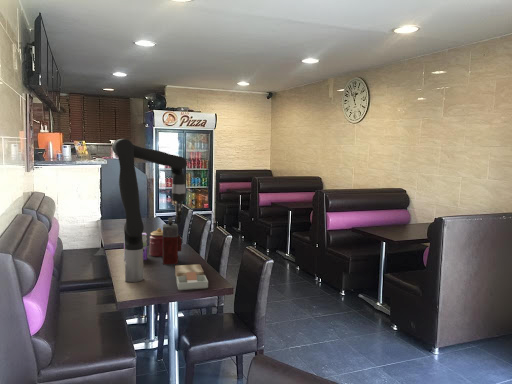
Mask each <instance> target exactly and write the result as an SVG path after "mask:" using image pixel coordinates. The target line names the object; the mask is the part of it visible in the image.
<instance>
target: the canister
mask: <svg viewBox="0 0 512 384" xmlns="http://www.w3.org/2000/svg"><path fill="white" fill-rule="evenodd" d="M148 251H149V256H152V257H163V229H162V228H161V227H158V228H157V230H153V231H152V232H150V235H149V250H148Z"/></svg>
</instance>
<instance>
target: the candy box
mask: <svg viewBox="0 0 512 384" xmlns="http://www.w3.org/2000/svg"><path fill="white" fill-rule="evenodd" d="M142 240H143V261H146V260H148V234H147V232H143V233H142ZM123 259H124V262H125V237H124V236H123Z"/></svg>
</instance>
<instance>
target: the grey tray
mask: <svg viewBox="0 0 512 384" xmlns="http://www.w3.org/2000/svg"><path fill="white" fill-rule="evenodd" d="M196 276H197V282H187V279H186V276H179V277H177V279H176V286H177V291H185V290H186V291H188V290H200V289H208V288H209V280H208V279H207V276H206V274H204V275H196Z"/></svg>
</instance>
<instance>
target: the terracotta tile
mask: <svg viewBox="0 0 512 384" xmlns="http://www.w3.org/2000/svg"><path fill="white" fill-rule="evenodd" d="M186 279H187V280H197V276H196V272H186Z"/></svg>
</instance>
